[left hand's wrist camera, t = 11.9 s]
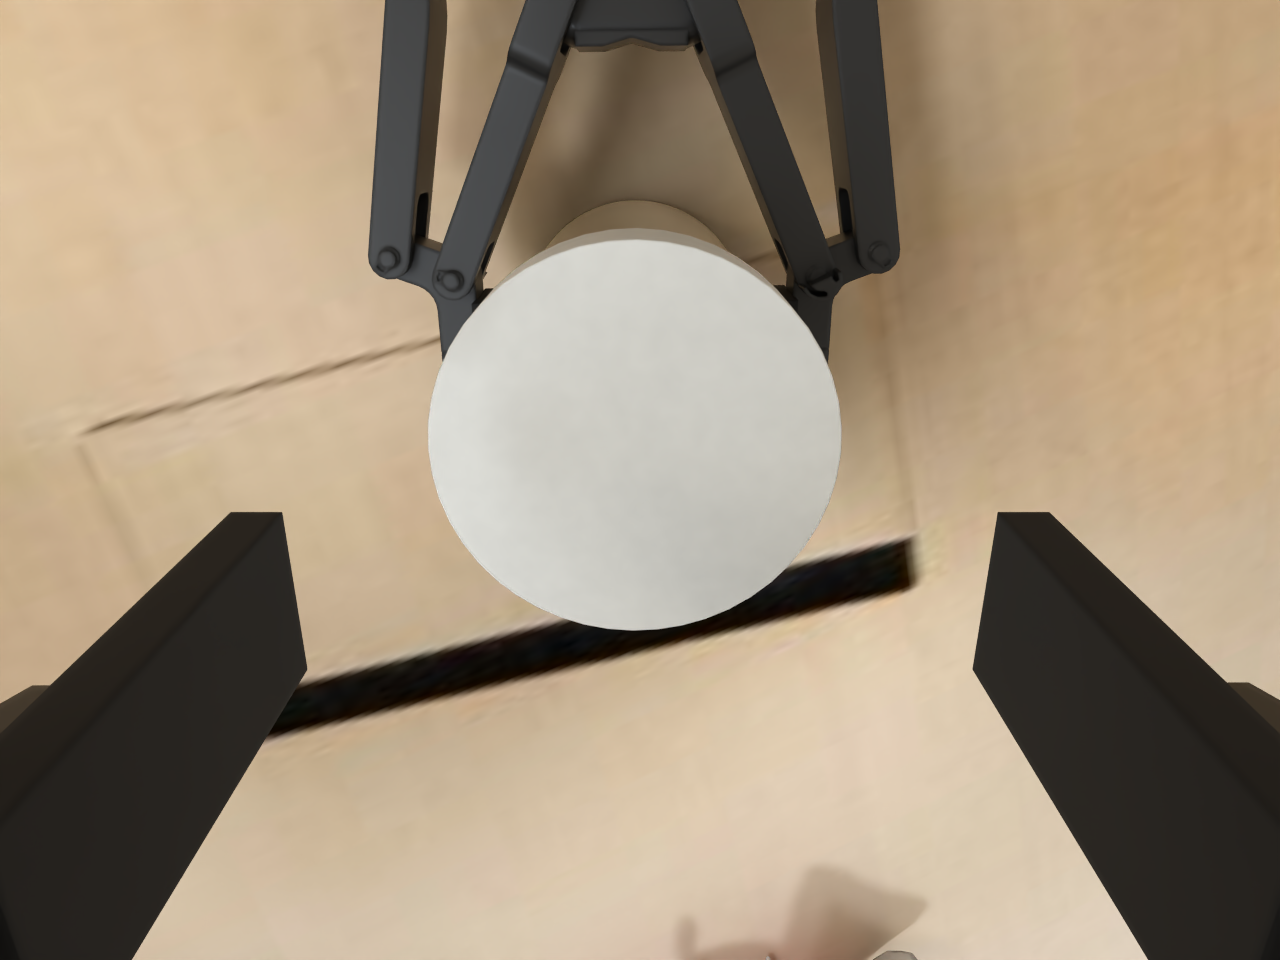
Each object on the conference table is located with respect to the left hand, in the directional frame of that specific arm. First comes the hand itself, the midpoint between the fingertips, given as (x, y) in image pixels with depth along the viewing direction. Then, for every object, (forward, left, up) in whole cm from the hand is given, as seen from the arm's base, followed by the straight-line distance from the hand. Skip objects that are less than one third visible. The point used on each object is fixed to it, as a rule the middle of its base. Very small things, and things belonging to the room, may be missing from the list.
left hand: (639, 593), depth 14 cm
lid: (0, 0, -7) cm, 7 cm away
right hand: (-5, -2, -16) cm, 17 cm away
